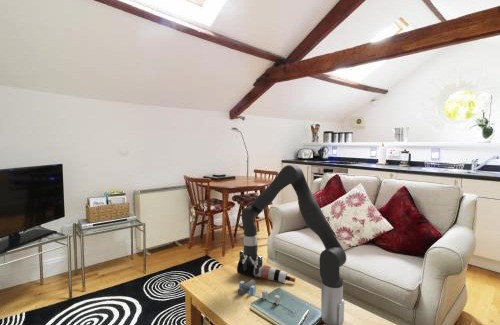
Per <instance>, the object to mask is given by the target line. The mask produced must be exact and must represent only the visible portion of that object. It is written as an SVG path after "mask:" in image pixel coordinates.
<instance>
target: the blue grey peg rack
mask: <svg viewBox="0 0 500 325" xmlns="http://www.w3.org/2000/svg"><path fill="white" fill-rule="evenodd" d="M244 284H246V282H245V281H244V280H241V281H239V282H238V289H239V288H240V287H241V286H243V285H244ZM256 289H257V288H256V285H255V286H254V285H252V286H251V287H250V289H249V290H248V291H246V292H245V293H247V294H249V295H251V296H255V297H257V298H259V299H261V298H266V297H267V298H268V290H266V289H263V290H262V291H261V294H260V293H256V292H257V290H256ZM273 297H274V298H273V301H274V302H276V303H279V302H280V303H281V296H280V295H279V294H275V295H274V296H273Z"/></svg>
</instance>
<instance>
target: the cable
mask: <svg viewBox="0 0 500 325" xmlns="http://www.w3.org/2000/svg"><path fill="white" fill-rule="evenodd" d="M244 258H245V256H244ZM254 262H255V261H254ZM246 263H247V270H245V271H244V270H243V263H242V262H240V259H239V260H238V263H237V265H236V266H237V268H236V273H237V274H239V275H242V276H246V277H249V278H252V279H254V278H255V277H259V278H261V279H266V280H271V281H275V282H278V283H282V284H286V281H287V282H292V283H296V278H295V277H291V276H288V272H287V271H283V270H281V269H277V268H274V267H272V266H269V265H265V264H262V267H260V268H259V273H258V274H257V275H255V266H254V265H253V263H252V262H250V261H247V262H246ZM256 265H257V264H256Z"/></svg>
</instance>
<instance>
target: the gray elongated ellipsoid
mask: <svg viewBox="0 0 500 325" xmlns="http://www.w3.org/2000/svg"><path fill="white" fill-rule="evenodd" d="M252 285H254V286H256V281H255V279H250V280H249V281H247V282H245V284H244V285H243V286H241V287H240V288H239V287H238V288H237V294H238V295H239V296H242V295H244V294H246V293H247V292H246V291H248V290H250V287H251V286H252Z"/></svg>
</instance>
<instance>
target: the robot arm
mask: <svg viewBox="0 0 500 325" xmlns="http://www.w3.org/2000/svg"><path fill="white" fill-rule="evenodd" d="M290 185H291V187H292V188H293V190H294V192H295V194H296V197H297V202H298V208H299V212H300V214H301V216H302V218H303V221H304V222H305V224H306V226H307V227H308V228H309V229H310V231H311V230H312V232H314V234H316V235H317V236H318V238H319V239H320V241H321V243H322V244H323V246H324V250H322V251H321V253H320V256H319V276H320V278H321V288H320V289H321V290H320V292H321V294H320V295H321V298H320V300H321V301H320V302H321V304H320V309H321V310H320V318H321V317H322V319H321V321H322V322H323V323H324V324H326V325H342V323H343V321H344V320H345V299H344V298H343V297H344V295H343V294H344V278H343V276H342V275H340V268H341V267H342V266H343V265H345V263H346V262H347V254H346V251H345V250H344V247H342V244H341V243H340V241H338V239H337V237H336V236H335V234H334V232H333V230H332V229H331V227H330V224H329V223H328V221H327V219H326V217H325V215H324V213H323V210H322V209H321V207H320V205H319V203H318V202H317V200H316V198H315V196H314V194H313V192H312V190H311V189H310V187H309V185H308V181H307V179H306V177H305V173H304V172H303V170H302V169H301V167H299V166H298V165H292V164H287V165H285V166H284V167H282V168H281V169H280V171H279V173H278V174H277V175H276V176H275V178H274V179H273V180H272V182H271V183H270V184H269V185H268V186H267V187H266V188H265V189H264V190H263V191H262V192H261V193H260V194H258V196H257V197H256V198H254V201H253V202H252V203H251V204H249V205H248V206H247V207H244V208H243V209H242V210H241V217H240V218H241V222H242V226H243V249H242V250H239V260H240V262H242V263H243V270H244V271H245V270H247V263H246V262H247V261H250V262H252V263H253V265H254V266H255V275H257V274H258V273H259V268H260V267H262V265H263V256H262V255H258V227H257V224H256V223H255V222H254V219H255V218H257V217H258V216H259V215H260V214H261V213H262V212H263V211H264V210H265V209H266V208H267V207H268V206H269V205H271V204H272V202H273V201H274V200H275V199H276V197H277V196H278V195H279V193H280V192H281V191H282V190H283V189H284V188H286V187H287V186H290ZM244 257H245V258H244ZM254 261H255V262H254ZM256 264H257V265H256Z"/></svg>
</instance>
